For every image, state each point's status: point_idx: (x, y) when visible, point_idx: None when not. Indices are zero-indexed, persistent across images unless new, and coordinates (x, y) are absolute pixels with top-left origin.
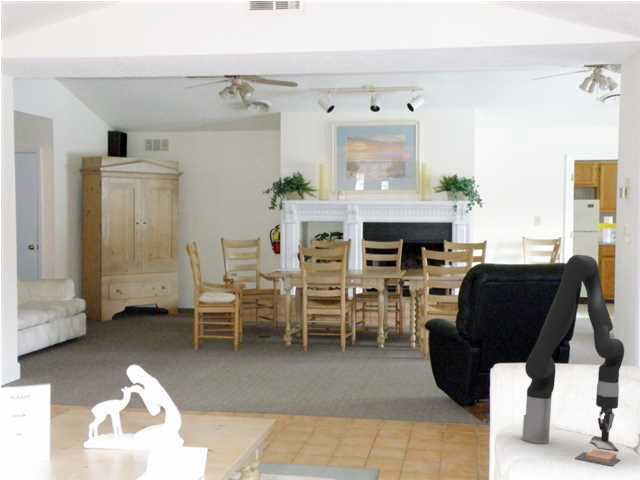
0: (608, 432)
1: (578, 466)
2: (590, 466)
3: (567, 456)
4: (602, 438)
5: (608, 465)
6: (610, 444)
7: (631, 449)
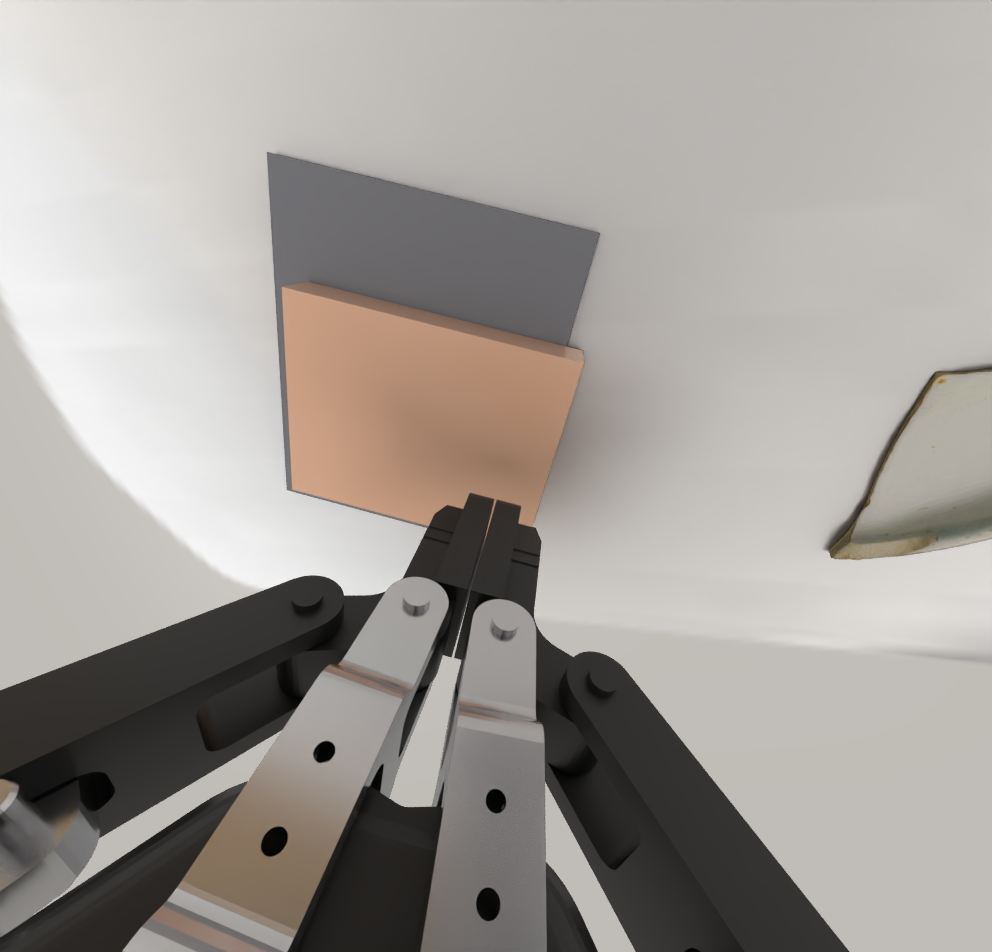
0: (458, 648)
1: (62, 231)
2: (160, 335)
3: (319, 34)
4: (432, 521)
5: (288, 465)
6: (943, 523)
7: (952, 644)
